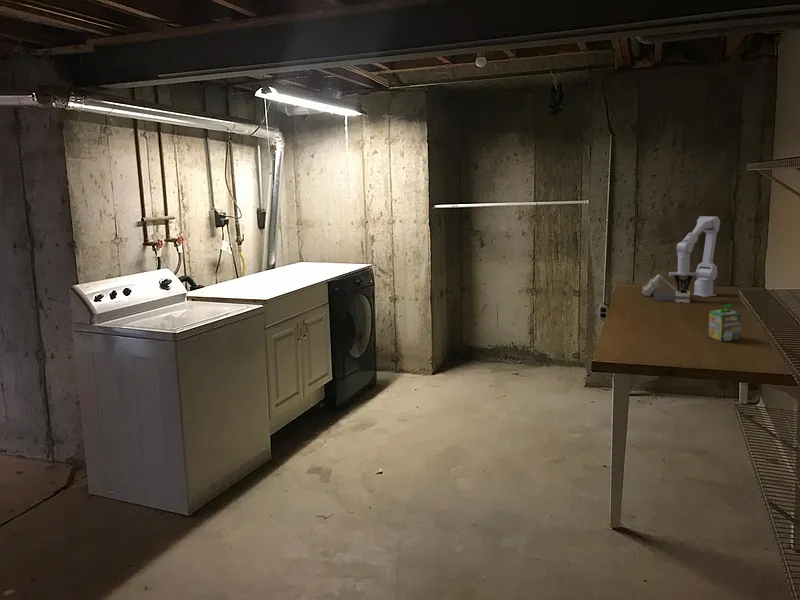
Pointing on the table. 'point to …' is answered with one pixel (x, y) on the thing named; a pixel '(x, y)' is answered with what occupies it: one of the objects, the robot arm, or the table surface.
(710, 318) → the chalk box
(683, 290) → the round dark gray knob
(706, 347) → the table surface
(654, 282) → the mechanical valve
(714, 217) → the robot arm
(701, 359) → the table surface
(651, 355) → the table surface
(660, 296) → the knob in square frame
